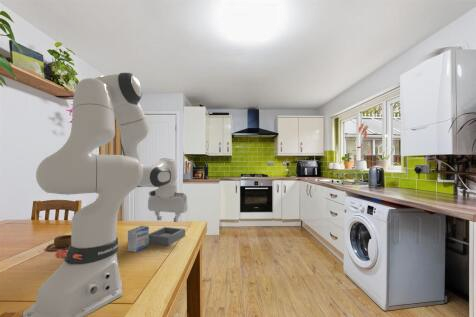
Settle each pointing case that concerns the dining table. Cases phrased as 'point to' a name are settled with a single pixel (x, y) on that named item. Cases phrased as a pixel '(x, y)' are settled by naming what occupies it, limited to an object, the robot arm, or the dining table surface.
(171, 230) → the tray
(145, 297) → the dining table surface
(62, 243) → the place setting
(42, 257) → the dining table surface
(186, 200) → the robot arm
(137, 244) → the medicine box
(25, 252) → the dining table surface
